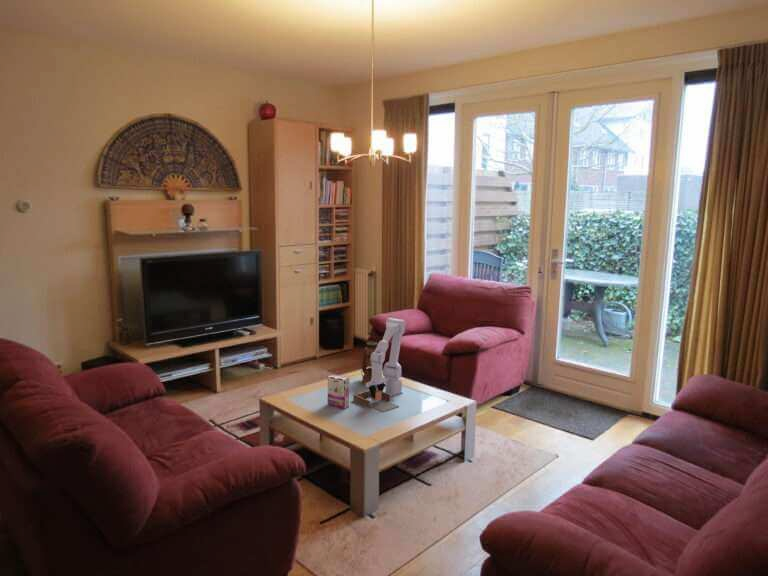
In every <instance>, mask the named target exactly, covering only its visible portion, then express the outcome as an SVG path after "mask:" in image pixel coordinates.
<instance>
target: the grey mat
mask: <svg viewBox="0 0 768 576" xmlns="http://www.w3.org/2000/svg"><path fill="white" fill-rule="evenodd" d="M399 407H400V405H397V404H396V403H393V402H391V401H386V402H384V403H382V404H378V405H374V406H373V407H372V408H373V409H375V410H376V411H380V412H382V413H385V412H388V411H391V410H395V409H398V408H399Z"/></svg>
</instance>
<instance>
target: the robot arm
mask: <svg viewBox="0 0 768 576" xmlns="http://www.w3.org/2000/svg"><path fill="white" fill-rule="evenodd" d="M405 321H406V320H404V319H400V318H399V319H398V318H393V317H388V318H387V320H386V322H385V328H386V329H385V332H384V335H383V337H382V340H379V342H378V345H377V348H376V350H375V352H373V353H372V354H371V357H370V361H369V362H370V364H371V365H370V366H371V368H372V379H371V381H370V382H368V383H366V385H365V388H367V389H368V390H370V393H371V396H370V398H371V397H372V398H375V393H376V389H378V390H380V391H382V392H384V393H387V394H389V395H390V397H392V396H397V395H400V394H402V393H403V390H402V389H403V381H402V378H401V376H402V373H403V372H402V366H401V364H400V363H399V355H400V349H401V343H402V338H403V337H402V336H403V335H404V334H405V330H406V326H407V325H406V322H405ZM390 340H392V341H391V347H390V353H389V359H388V361H386V362H385V359H386V353H387V350H388V349H389V342H390ZM384 362H385V364H384ZM383 364H384V366H383ZM383 377H384V378H383ZM374 385H377V386H374ZM381 395H382V393H381Z"/></svg>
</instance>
